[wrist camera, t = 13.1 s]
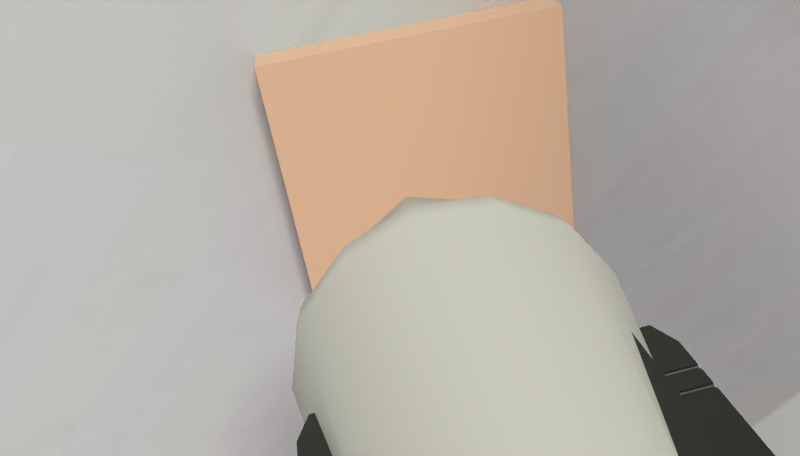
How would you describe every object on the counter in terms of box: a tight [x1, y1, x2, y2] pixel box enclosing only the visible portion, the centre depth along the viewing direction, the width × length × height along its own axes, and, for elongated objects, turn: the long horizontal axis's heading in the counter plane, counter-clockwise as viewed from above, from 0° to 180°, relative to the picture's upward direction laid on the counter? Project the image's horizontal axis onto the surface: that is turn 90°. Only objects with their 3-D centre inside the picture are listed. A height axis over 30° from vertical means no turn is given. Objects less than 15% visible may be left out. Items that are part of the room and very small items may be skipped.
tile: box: [254, 0, 574, 290], centre depth 32 cm, size 2×12×12 cm
